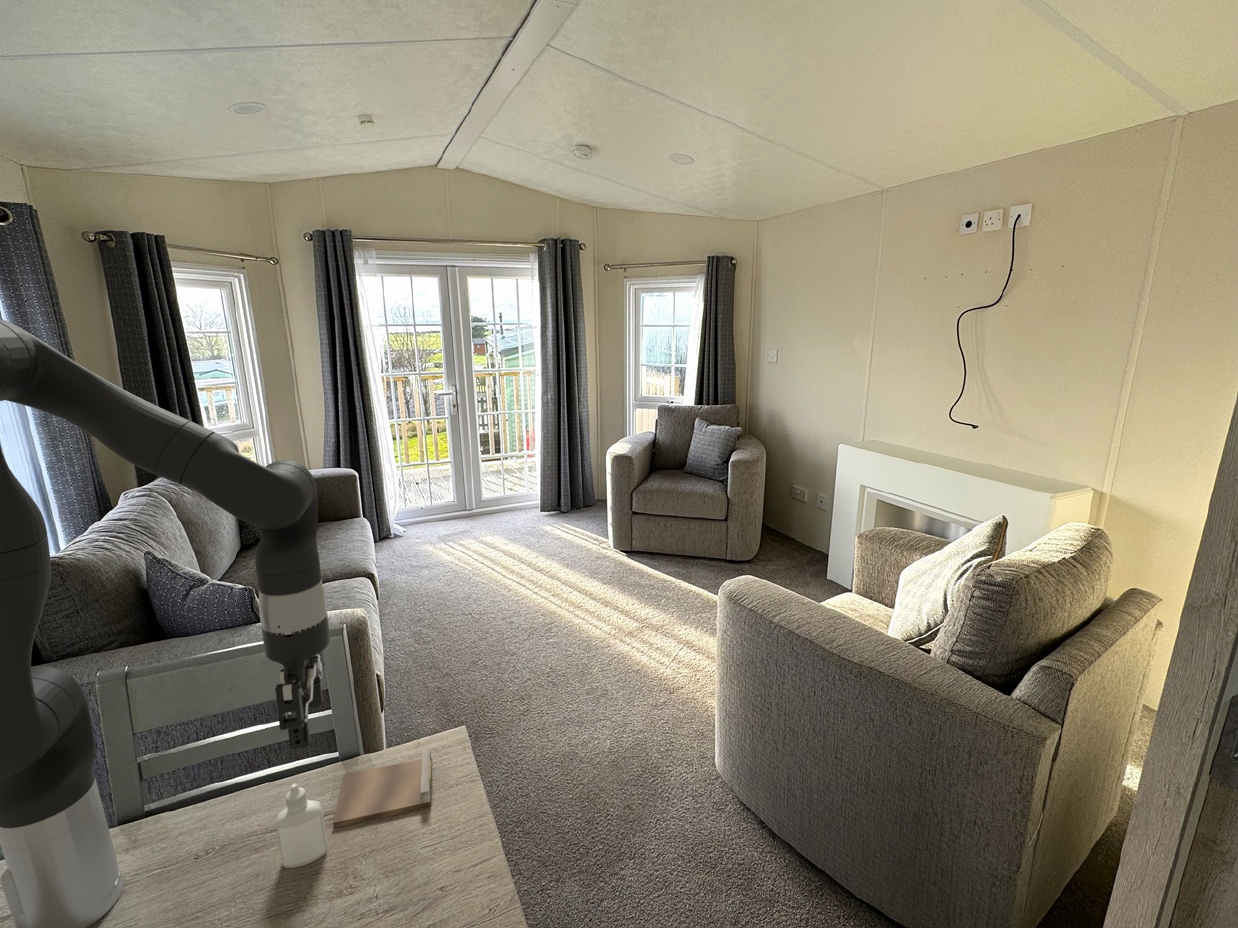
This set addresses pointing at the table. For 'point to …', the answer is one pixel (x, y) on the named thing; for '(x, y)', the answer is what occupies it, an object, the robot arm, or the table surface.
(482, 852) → the table surface
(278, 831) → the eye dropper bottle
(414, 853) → the table surface
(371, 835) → the table surface
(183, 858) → the table surface
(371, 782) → the walnut shelf board
